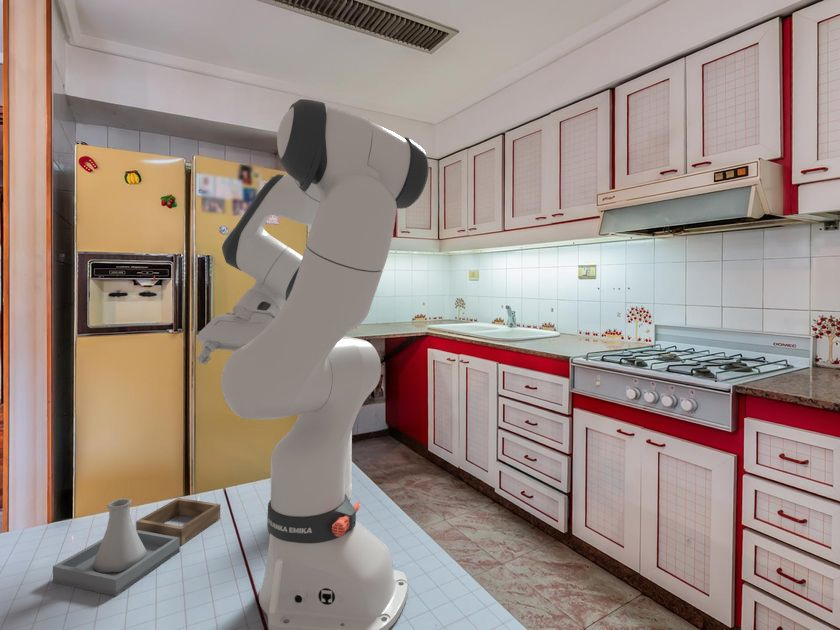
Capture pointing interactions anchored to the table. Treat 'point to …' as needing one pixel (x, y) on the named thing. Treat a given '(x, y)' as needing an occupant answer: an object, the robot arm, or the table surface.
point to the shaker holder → (198, 509)
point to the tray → (114, 583)
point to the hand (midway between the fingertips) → (215, 364)
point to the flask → (119, 540)
